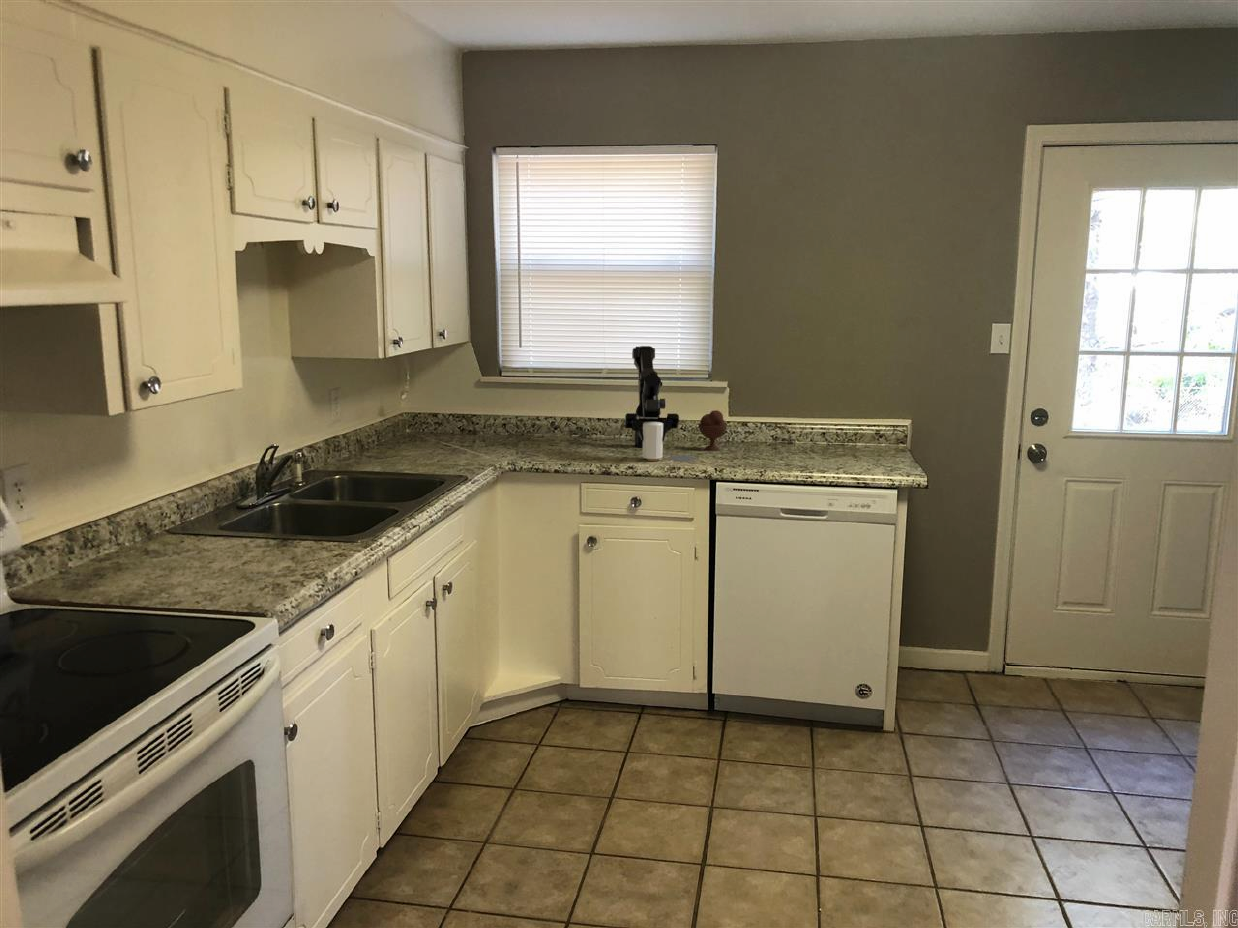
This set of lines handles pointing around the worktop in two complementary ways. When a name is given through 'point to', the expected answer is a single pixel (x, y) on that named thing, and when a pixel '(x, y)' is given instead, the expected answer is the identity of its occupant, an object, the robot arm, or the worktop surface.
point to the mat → (682, 458)
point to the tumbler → (652, 440)
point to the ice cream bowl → (712, 428)
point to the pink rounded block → (652, 459)
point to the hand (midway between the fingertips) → (653, 440)
